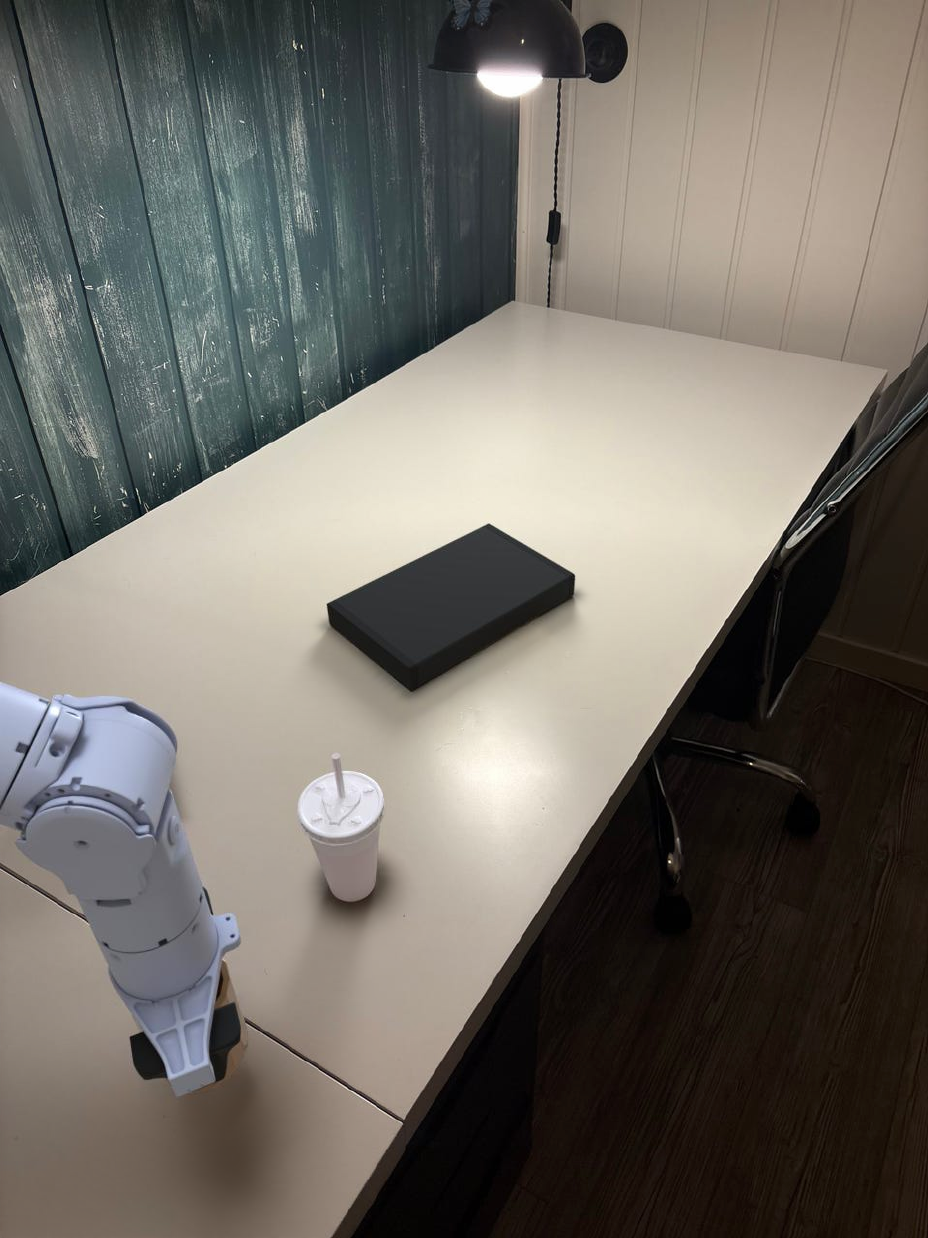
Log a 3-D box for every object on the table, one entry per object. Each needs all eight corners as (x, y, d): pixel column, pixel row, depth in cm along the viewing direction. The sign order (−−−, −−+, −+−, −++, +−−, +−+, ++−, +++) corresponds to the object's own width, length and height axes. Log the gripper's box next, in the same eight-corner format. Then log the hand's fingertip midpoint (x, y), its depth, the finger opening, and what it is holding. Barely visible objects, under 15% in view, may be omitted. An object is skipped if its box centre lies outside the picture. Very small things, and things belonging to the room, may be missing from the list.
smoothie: (398, 851, 75) (386, 732, 67) (385, 920, 70) (371, 800, 62) (322, 846, 76) (300, 726, 67) (303, 913, 71) (278, 794, 62)
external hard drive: (329, 624, 99) (326, 602, 97) (488, 543, 110) (488, 522, 109) (411, 691, 90) (410, 669, 88) (574, 596, 102) (575, 574, 100)
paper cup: (164, 1108, 55) (137, 1051, 50) (150, 1024, 59) (123, 964, 54) (257, 1070, 56) (238, 1011, 52) (237, 991, 60) (218, 931, 56)
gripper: (254, 995, 44) (291, 1120, 52) (198, 783, 54) (236, 915, 63) (101, 1054, 42) (166, 1174, 50) (73, 821, 52) (130, 953, 61)
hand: (197, 1033), depth 56 cm, fingers closed on paper cup, 5 cm apart
